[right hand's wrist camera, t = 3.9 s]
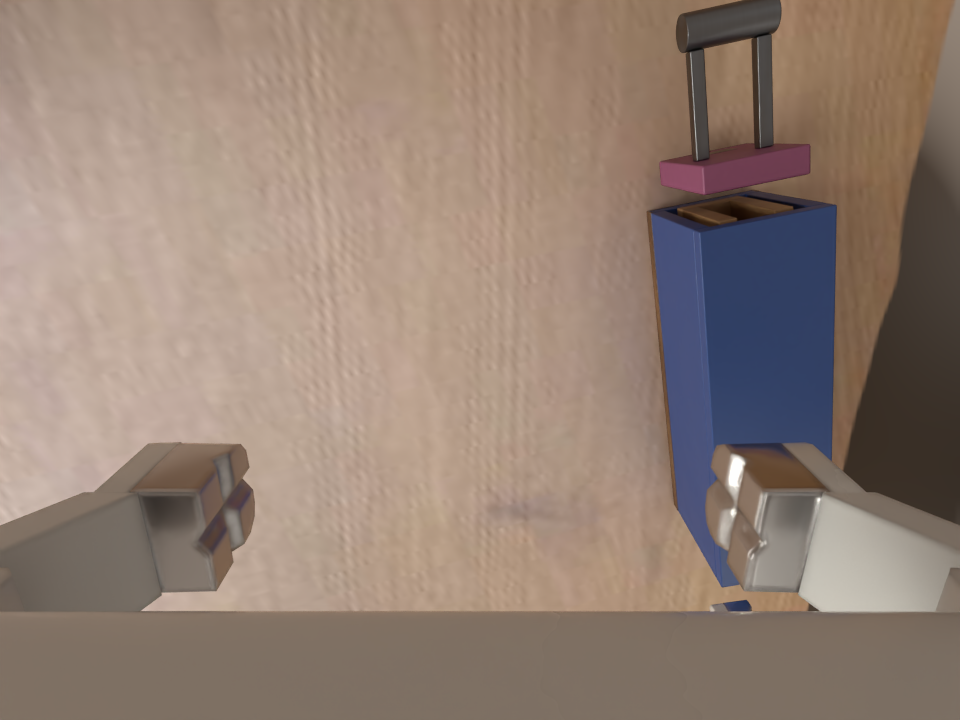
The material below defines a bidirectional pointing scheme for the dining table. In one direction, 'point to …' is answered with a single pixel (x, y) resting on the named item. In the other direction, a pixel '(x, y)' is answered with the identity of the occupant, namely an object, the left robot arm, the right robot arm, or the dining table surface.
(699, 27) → the drawer
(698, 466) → the tall blue box
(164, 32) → the dining table surface
